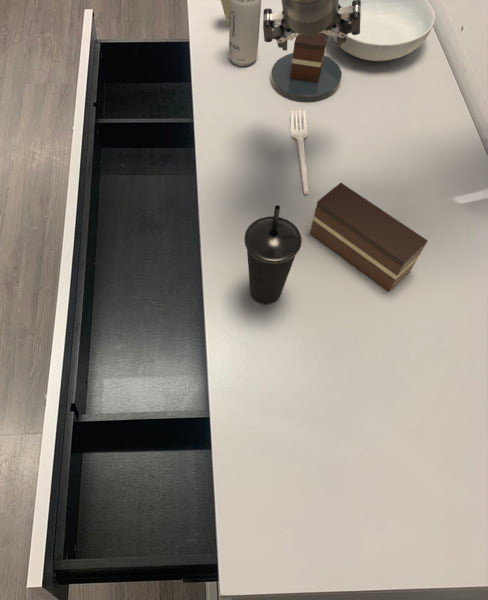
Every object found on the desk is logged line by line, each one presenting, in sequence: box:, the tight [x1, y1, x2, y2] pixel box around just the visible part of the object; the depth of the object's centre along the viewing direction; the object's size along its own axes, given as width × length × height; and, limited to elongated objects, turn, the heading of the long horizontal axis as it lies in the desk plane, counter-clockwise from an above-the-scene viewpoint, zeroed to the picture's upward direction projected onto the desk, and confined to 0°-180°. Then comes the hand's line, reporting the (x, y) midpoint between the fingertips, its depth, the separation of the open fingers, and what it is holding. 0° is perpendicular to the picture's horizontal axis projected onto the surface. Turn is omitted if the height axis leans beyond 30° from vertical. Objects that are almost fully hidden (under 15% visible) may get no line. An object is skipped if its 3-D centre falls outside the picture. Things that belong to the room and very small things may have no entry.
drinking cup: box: [243, 204, 303, 305], centre depth 74 cm, size 8×8×20 cm
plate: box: [270, 52, 343, 103], centre depth 108 cm, size 14×14×2 cm
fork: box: [289, 109, 309, 195], centre depth 97 cm, size 3×20×2 cm, turn 178°
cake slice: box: [290, 33, 329, 83], centre depth 103 cm, size 6×5×8 cm
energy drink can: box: [228, 0, 262, 67], centre depth 106 cm, size 6×6×15 cm
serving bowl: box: [331, 0, 436, 62], centre depth 110 cm, size 21×21×7 cm
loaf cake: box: [309, 182, 428, 293], centre depth 82 cm, size 6×16×8 cm, turn 42°
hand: (312, 42), depth 86 cm, fingers open, 8 cm apart
